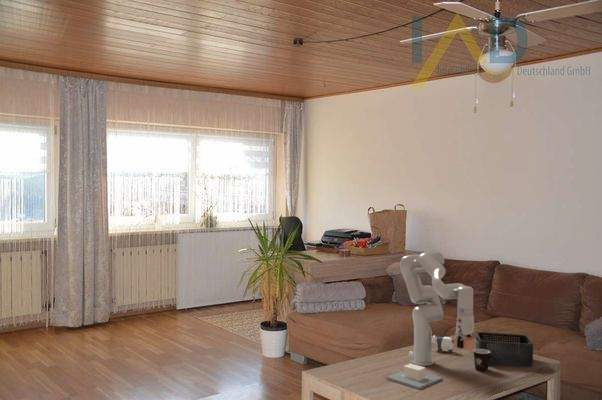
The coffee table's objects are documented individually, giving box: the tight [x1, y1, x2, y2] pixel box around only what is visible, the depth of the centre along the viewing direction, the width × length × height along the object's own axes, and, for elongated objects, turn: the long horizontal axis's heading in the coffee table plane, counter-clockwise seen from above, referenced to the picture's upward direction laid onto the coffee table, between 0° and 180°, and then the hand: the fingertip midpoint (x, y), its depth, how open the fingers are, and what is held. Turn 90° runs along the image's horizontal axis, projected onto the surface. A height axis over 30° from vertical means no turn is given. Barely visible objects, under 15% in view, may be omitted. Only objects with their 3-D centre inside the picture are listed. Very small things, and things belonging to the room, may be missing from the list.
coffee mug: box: [472, 348, 496, 373], centre depth 304 cm, size 12×9×10 cm
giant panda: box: [432, 334, 454, 355], centre depth 339 cm, size 15×6×10 cm, turn 66°
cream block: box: [403, 363, 427, 380], centre depth 290 cm, size 9×6×5 cm, turn 46°
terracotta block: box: [453, 335, 476, 352], centre depth 289 cm, size 9×6×5 cm, turn 60°
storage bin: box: [475, 331, 534, 368], centre depth 321 cm, size 29×19×13 cm
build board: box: [385, 369, 444, 390], centre depth 290 cm, size 20×20×1 cm
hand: (464, 346), depth 289 cm, fingers closed on terracotta block, 7 cm apart
